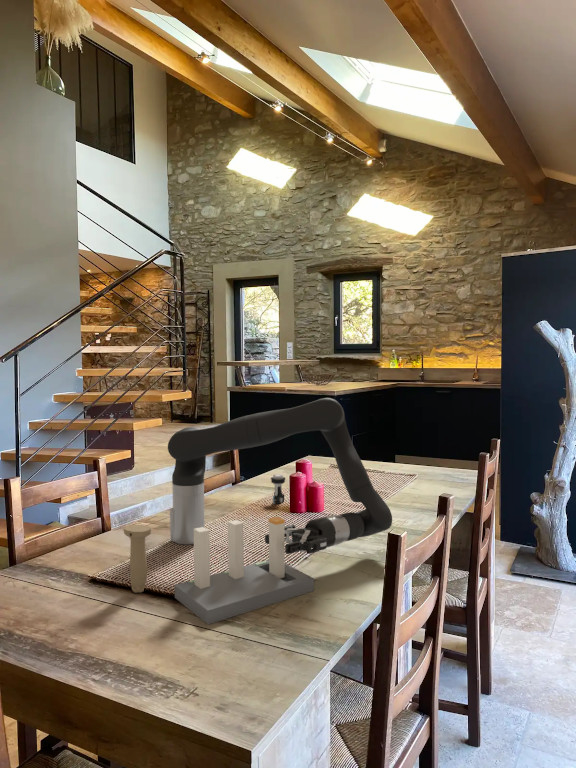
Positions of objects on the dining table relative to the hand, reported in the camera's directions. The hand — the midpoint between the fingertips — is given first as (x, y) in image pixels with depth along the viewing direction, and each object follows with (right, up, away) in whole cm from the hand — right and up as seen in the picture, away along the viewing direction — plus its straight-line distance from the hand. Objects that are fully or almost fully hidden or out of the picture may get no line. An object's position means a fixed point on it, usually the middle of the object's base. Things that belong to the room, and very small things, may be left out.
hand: (275, 544), depth 140 cm
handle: (-32, -10, -2) cm, 34 cm away
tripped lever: (0, -8, +1) cm, 8 cm away
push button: (-1, -5, +73) cm, 73 cm away
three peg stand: (-7, -10, -4) cm, 13 cm away
